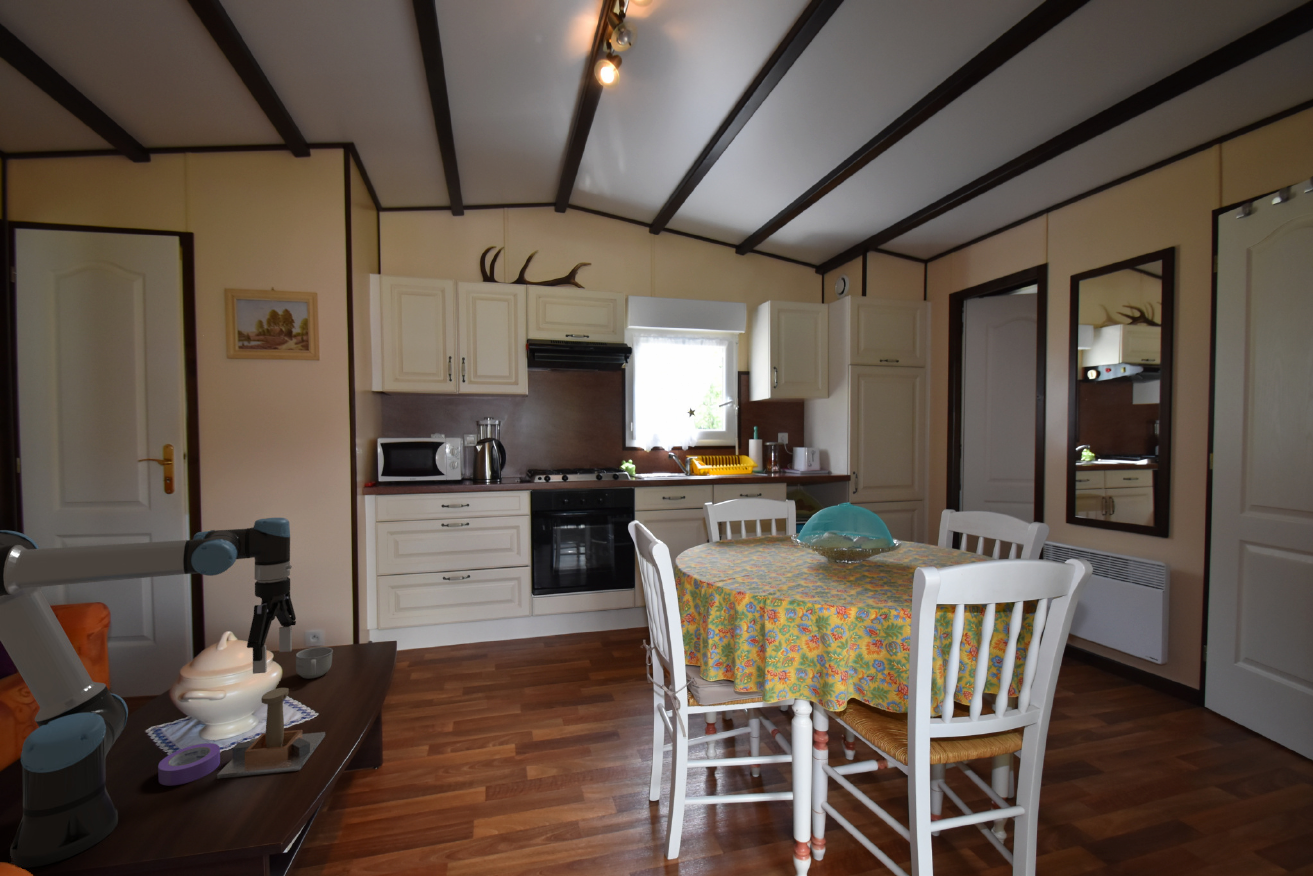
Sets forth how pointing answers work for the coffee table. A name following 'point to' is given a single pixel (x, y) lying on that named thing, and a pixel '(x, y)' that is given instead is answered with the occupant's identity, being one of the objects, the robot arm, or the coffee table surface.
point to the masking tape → (189, 764)
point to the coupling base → (271, 755)
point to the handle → (275, 716)
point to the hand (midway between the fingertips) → (273, 661)
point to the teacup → (313, 662)
